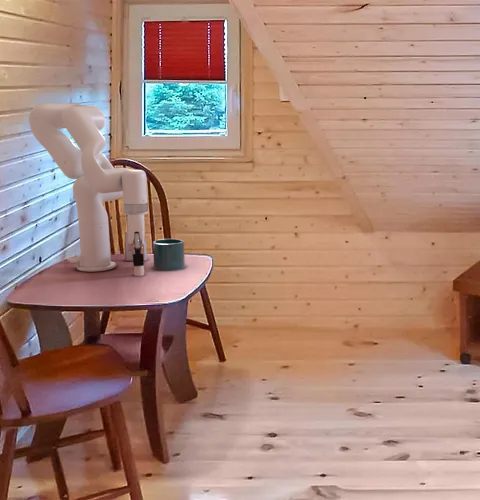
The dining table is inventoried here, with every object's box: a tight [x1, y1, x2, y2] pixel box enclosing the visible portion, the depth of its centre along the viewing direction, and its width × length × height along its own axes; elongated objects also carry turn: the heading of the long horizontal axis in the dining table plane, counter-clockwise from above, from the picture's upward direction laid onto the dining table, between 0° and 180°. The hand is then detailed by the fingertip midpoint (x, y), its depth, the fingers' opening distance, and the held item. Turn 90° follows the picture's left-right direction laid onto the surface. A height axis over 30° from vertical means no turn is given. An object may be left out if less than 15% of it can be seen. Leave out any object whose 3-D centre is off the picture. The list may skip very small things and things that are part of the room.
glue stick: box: [132, 247, 145, 277], centre depth 249 cm, size 3×3×9 cm
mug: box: [152, 238, 186, 272], centre depth 262 cm, size 14×10×9 cm
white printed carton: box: [124, 231, 148, 262], centre depth 271 cm, size 4×7×10 cm, turn 90°
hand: (138, 264), depth 249 cm, fingers closed on glue stick, 3 cm apart
